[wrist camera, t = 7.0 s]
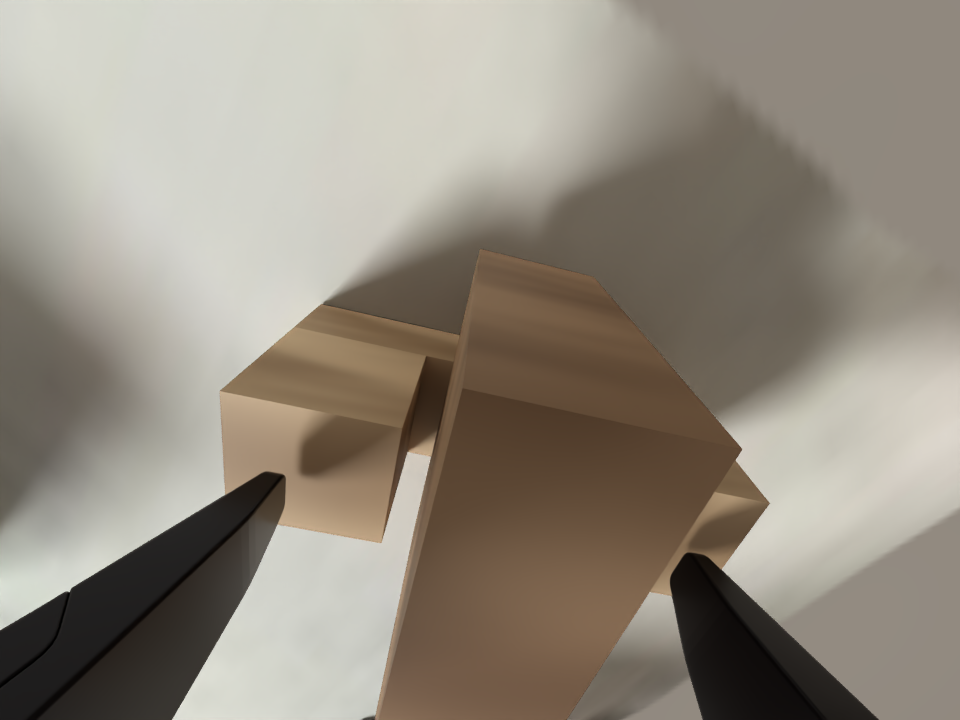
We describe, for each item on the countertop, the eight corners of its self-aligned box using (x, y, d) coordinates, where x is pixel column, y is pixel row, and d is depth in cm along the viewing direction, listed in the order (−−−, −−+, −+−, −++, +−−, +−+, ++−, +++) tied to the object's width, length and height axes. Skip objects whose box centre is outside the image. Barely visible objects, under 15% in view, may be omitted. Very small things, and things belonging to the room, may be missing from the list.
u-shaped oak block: (632, 461, 16) (698, 600, 11) (315, 395, 15) (226, 515, 10) (672, 383, 14) (770, 503, 9) (321, 304, 13) (219, 391, 8)
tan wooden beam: (496, 542, 15) (500, 821, 9) (414, 526, 15) (357, 802, 8) (593, 276, 11) (742, 448, 4) (480, 248, 10) (462, 388, 4)
